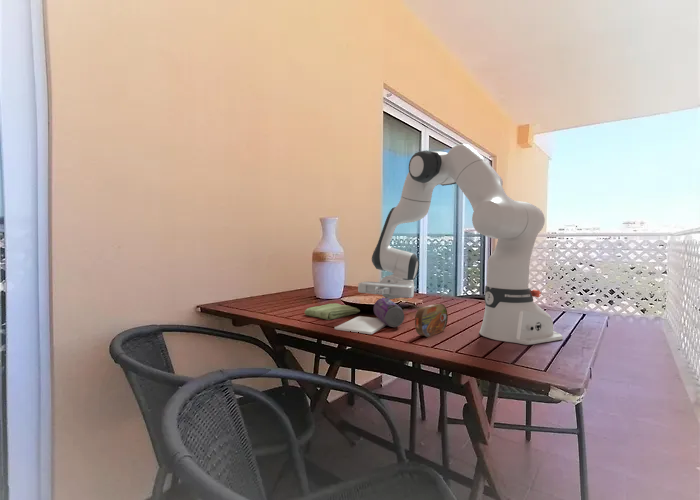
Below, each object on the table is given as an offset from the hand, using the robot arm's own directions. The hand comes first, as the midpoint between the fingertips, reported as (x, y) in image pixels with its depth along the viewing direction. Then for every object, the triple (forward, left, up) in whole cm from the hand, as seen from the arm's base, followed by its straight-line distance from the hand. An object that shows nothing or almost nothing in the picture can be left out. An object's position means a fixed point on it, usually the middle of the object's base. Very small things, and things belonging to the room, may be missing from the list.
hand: (378, 291), depth 129 cm
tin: (-9, +22, -9) cm, 26 cm away
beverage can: (-1, +2, -5) cm, 6 cm away
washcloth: (+14, -10, -10) cm, 20 cm away
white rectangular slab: (+8, +9, -9) cm, 15 cm away
